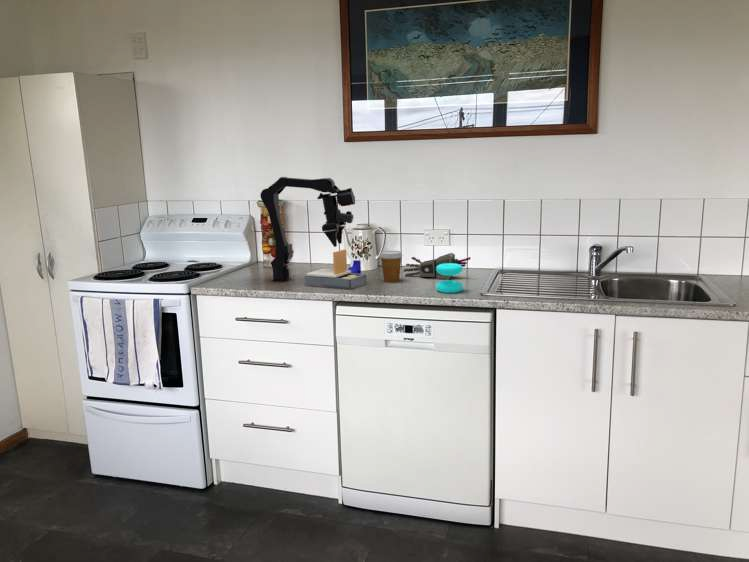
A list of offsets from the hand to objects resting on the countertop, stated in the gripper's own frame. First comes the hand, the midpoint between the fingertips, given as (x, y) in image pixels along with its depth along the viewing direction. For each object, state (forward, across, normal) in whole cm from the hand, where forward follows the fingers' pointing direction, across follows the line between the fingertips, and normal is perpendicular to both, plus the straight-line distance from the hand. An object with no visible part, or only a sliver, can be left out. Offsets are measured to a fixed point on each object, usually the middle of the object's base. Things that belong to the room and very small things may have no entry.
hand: (337, 245), depth 249 cm
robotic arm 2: (+21, +6, -38) cm, 44 cm away
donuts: (+22, -20, -45) cm, 53 cm away
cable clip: (+16, +11, +1) cm, 19 cm away
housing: (+15, -10, +2) cm, 18 cm away
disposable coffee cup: (+18, -1, -20) cm, 27 cm away
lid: (+10, -9, +4) cm, 14 cm away
